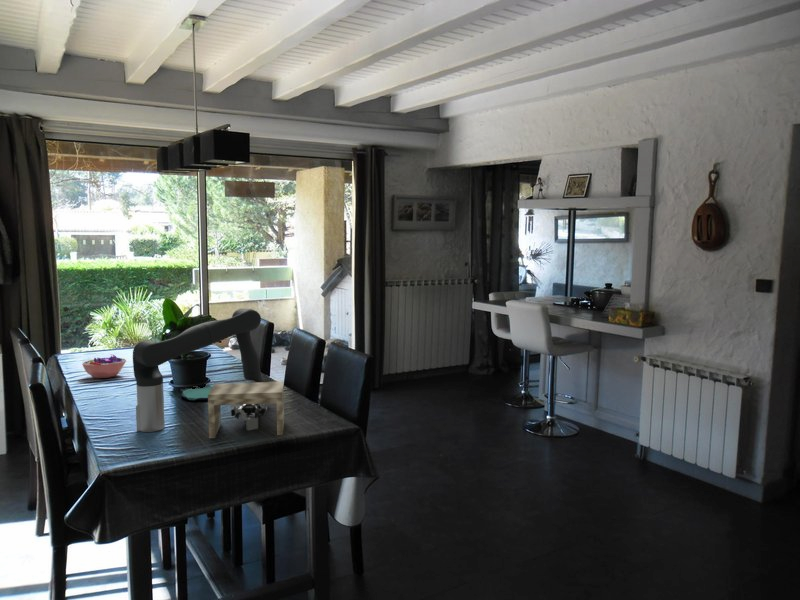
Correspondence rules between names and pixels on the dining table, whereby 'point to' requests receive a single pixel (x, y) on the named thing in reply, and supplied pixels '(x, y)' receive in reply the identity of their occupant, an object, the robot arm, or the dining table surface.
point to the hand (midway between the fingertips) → (246, 415)
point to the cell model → (104, 366)
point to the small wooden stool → (244, 400)
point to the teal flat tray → (197, 393)
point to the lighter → (249, 421)
